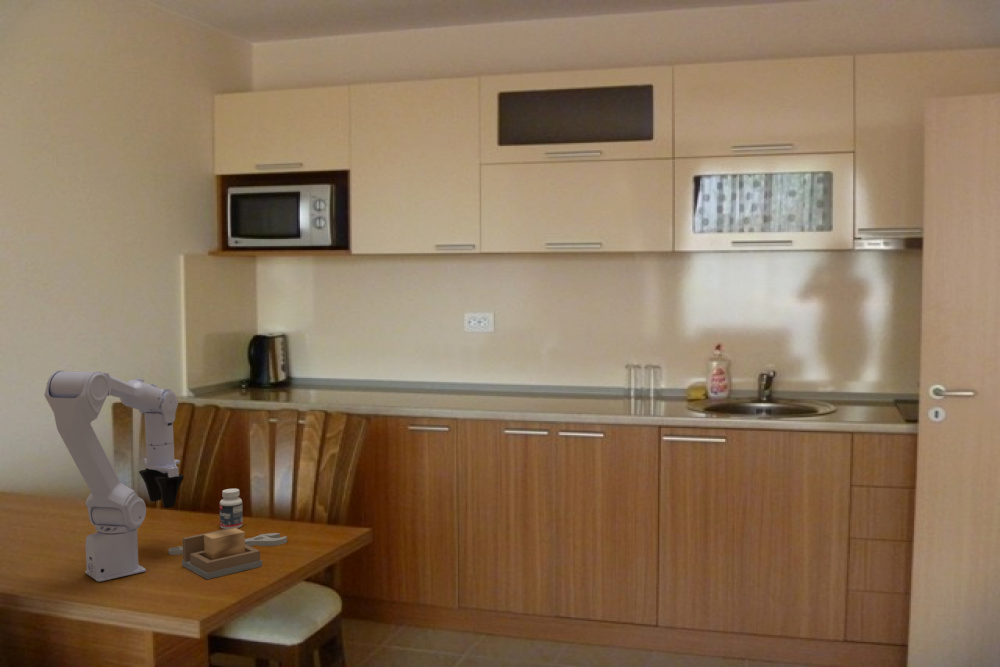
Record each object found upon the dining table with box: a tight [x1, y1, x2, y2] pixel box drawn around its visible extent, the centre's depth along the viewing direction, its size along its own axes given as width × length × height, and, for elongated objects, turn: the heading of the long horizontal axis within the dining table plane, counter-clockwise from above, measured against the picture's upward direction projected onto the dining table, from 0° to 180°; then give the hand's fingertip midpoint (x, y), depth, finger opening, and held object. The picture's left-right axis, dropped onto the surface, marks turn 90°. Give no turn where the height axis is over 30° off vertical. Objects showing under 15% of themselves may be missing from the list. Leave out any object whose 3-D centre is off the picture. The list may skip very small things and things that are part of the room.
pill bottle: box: [219, 488, 244, 530], centre depth 214 cm, size 5×5×9 cm
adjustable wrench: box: [168, 532, 288, 556], centre depth 198 cm, size 25×6×2 cm, turn 107°
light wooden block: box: [204, 528, 246, 560], centre depth 183 cm, size 7×4×6 cm, turn 132°
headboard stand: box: [181, 527, 263, 580], centre depth 184 cm, size 12×12×6 cm
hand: (162, 503), depth 195 cm, fingers open, 7 cm apart
